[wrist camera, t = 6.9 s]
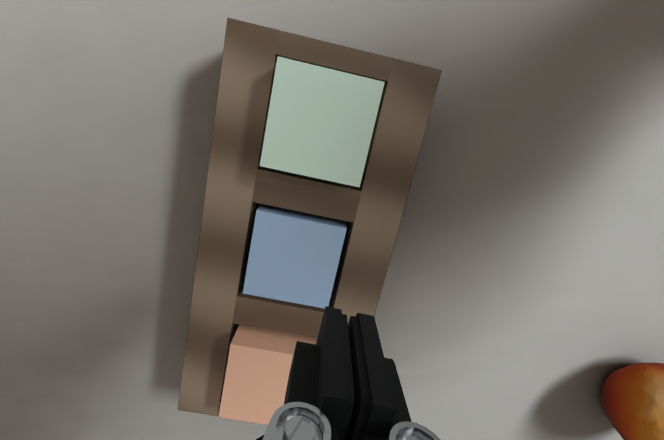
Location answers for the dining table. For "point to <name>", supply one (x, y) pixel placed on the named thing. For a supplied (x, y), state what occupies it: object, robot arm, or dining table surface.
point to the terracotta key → (257, 373)
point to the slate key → (293, 256)
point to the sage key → (320, 122)
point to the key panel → (293, 198)
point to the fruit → (635, 401)
